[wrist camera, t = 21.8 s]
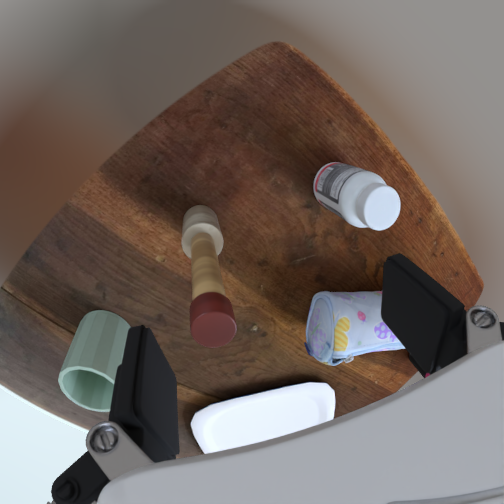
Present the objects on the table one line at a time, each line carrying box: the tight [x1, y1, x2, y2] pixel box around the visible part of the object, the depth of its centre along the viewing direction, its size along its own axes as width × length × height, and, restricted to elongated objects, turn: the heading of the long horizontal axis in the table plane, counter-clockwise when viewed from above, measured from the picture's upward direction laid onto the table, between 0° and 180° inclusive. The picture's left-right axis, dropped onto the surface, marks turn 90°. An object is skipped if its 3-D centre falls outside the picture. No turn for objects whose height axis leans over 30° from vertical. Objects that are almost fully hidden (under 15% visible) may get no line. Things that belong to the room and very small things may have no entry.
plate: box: [191, 382, 335, 454], centre depth 48 cm, size 25×25×2 cm
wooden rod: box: [182, 205, 237, 348], centre depth 23 cm, size 4×4×18 cm
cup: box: [58, 310, 131, 412], centre depth 30 cm, size 7×7×10 cm
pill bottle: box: [313, 162, 400, 230], centre depth 28 cm, size 5×5×10 cm
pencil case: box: [304, 291, 405, 366], centre depth 36 cm, size 21×9×10 cm, turn 84°
